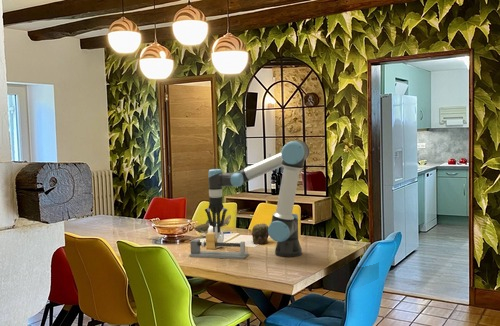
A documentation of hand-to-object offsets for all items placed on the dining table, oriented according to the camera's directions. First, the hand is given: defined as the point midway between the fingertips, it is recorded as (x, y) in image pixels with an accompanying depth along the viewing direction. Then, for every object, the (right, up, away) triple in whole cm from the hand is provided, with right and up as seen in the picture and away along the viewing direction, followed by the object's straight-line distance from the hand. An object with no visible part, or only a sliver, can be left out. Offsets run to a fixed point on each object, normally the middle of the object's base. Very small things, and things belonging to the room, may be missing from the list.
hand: (216, 238), depth 284 cm
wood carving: (-6, -7, +60) cm, 61 cm away
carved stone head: (+25, -8, +30) cm, 40 cm away
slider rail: (+1, -10, 0) cm, 10 cm away
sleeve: (-3, -6, +1) cm, 7 cm away
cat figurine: (-2, -9, +22) cm, 24 cm away
